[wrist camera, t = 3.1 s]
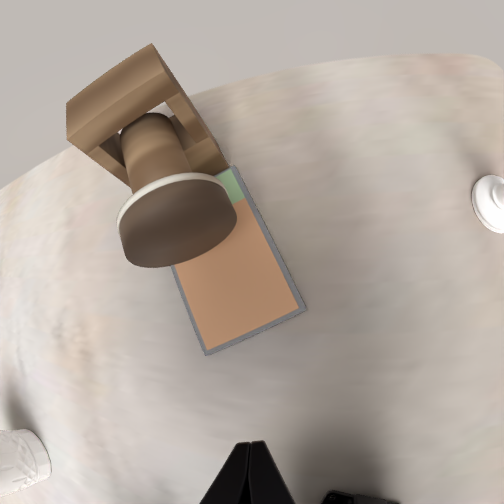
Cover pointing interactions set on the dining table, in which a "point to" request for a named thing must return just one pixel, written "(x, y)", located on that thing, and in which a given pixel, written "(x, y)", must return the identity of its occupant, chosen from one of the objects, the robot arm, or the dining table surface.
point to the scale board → (237, 279)
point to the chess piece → (489, 202)
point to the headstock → (137, 114)
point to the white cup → (21, 461)
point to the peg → (168, 199)
